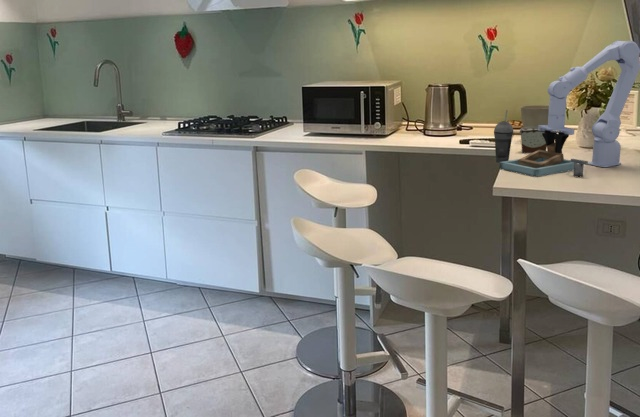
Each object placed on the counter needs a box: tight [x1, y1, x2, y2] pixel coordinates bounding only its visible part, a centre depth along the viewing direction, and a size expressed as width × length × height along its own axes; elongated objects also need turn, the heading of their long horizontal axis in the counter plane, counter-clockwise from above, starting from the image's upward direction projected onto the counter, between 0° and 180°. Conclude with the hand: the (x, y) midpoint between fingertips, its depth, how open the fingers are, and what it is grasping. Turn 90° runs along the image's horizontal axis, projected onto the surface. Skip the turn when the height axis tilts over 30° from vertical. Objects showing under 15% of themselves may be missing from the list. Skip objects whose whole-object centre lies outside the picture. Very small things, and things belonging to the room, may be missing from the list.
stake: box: [570, 158, 589, 178], centre depth 215 cm, size 3×6×6 cm, turn 30°
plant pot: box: [520, 104, 549, 128], centre depth 279 cm, size 15×15×16 cm
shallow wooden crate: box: [518, 141, 565, 168], centre depth 229 cm, size 15×11×4 cm
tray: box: [499, 158, 574, 178], centre depth 228 cm, size 22×17×2 cm
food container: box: [519, 126, 547, 154], centre depth 260 cm, size 12×6×10 cm, turn 85°
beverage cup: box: [493, 109, 514, 164], centre depth 240 cm, size 7×7×20 cm
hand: (554, 152), depth 231 cm, fingers closed on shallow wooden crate, 3 cm apart
